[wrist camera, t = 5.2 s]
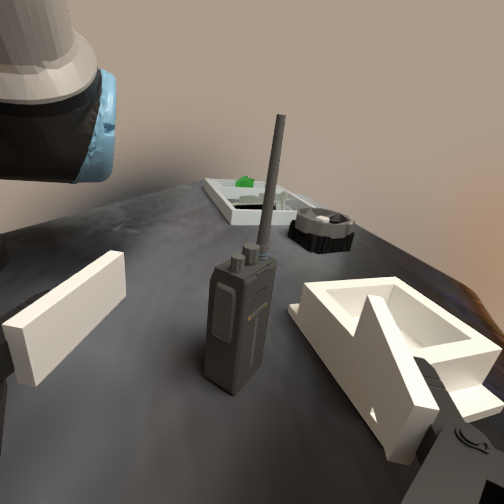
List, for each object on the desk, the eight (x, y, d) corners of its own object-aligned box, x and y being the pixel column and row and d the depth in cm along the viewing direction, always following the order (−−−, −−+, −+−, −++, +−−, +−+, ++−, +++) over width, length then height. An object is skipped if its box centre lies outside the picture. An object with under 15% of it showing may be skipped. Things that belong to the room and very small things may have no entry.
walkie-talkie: (232, 346, 28) (260, 112, 20) (263, 363, 26) (306, 118, 18) (198, 377, 24) (215, 104, 16) (231, 399, 23) (269, 111, 15)
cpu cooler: (286, 206, 56) (328, 205, 60) (281, 234, 58) (322, 232, 63) (319, 225, 48) (366, 223, 52) (312, 257, 50) (357, 252, 54)
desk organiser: (203, 188, 85) (204, 178, 83) (271, 192, 92) (273, 182, 91) (230, 225, 59) (232, 210, 58) (322, 225, 66) (325, 212, 65)
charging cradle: (287, 311, 34) (295, 273, 32) (371, 303, 38) (383, 268, 36) (384, 448, 21) (409, 397, 19) (499, 412, 25) (529, 367, 23)
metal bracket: (301, 189, 73) (263, 195, 62) (302, 213, 74) (265, 223, 63) (256, 192, 82) (216, 198, 71) (258, 213, 83) (219, 222, 72)
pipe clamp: (246, 199, 79) (248, 183, 77) (234, 197, 80) (235, 181, 78) (254, 191, 88) (255, 177, 87) (242, 189, 89) (244, 175, 87)
